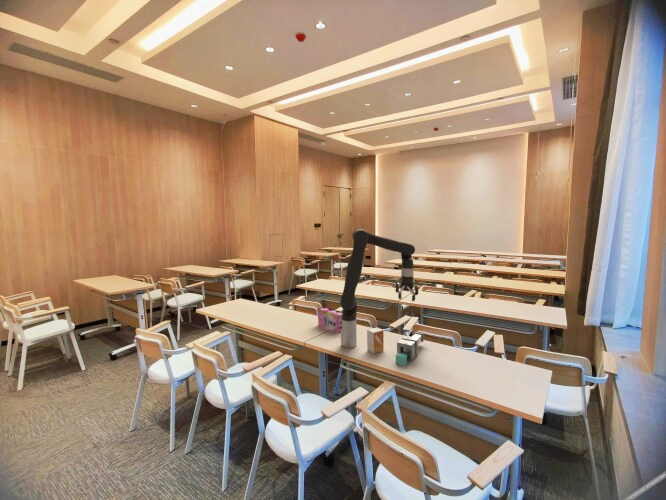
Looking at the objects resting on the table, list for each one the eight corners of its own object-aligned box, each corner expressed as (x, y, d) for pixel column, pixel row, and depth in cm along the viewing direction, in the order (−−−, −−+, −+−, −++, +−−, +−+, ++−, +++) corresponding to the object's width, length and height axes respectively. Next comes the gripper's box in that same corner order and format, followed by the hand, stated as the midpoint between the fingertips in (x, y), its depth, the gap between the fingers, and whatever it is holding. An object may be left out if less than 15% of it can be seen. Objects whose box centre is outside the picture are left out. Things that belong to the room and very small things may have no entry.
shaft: (401, 352, 178) (401, 344, 177) (415, 339, 198) (415, 331, 197) (410, 354, 175) (410, 346, 175) (423, 340, 195) (423, 333, 194)
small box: (373, 353, 184) (373, 332, 183) (367, 350, 189) (366, 329, 188) (383, 350, 188) (383, 329, 187) (377, 347, 194) (376, 327, 193)
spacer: (398, 361, 174) (395, 363, 171) (398, 352, 173) (395, 355, 170) (407, 363, 171) (404, 365, 168) (407, 354, 171) (404, 357, 167)
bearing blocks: (397, 358, 177) (397, 342, 176) (403, 352, 185) (403, 336, 184) (411, 362, 172) (411, 345, 171) (417, 355, 180) (417, 339, 179)
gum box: (345, 330, 225) (345, 312, 224) (337, 333, 220) (337, 314, 219) (325, 323, 244) (325, 306, 243) (317, 325, 239) (317, 308, 238)
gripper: (394, 274, 196) (393, 299, 197) (416, 277, 188) (415, 303, 189) (398, 273, 202) (398, 297, 203) (420, 275, 194) (419, 300, 195)
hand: (406, 300), depth 196 cm, fingers open, 8 cm apart
